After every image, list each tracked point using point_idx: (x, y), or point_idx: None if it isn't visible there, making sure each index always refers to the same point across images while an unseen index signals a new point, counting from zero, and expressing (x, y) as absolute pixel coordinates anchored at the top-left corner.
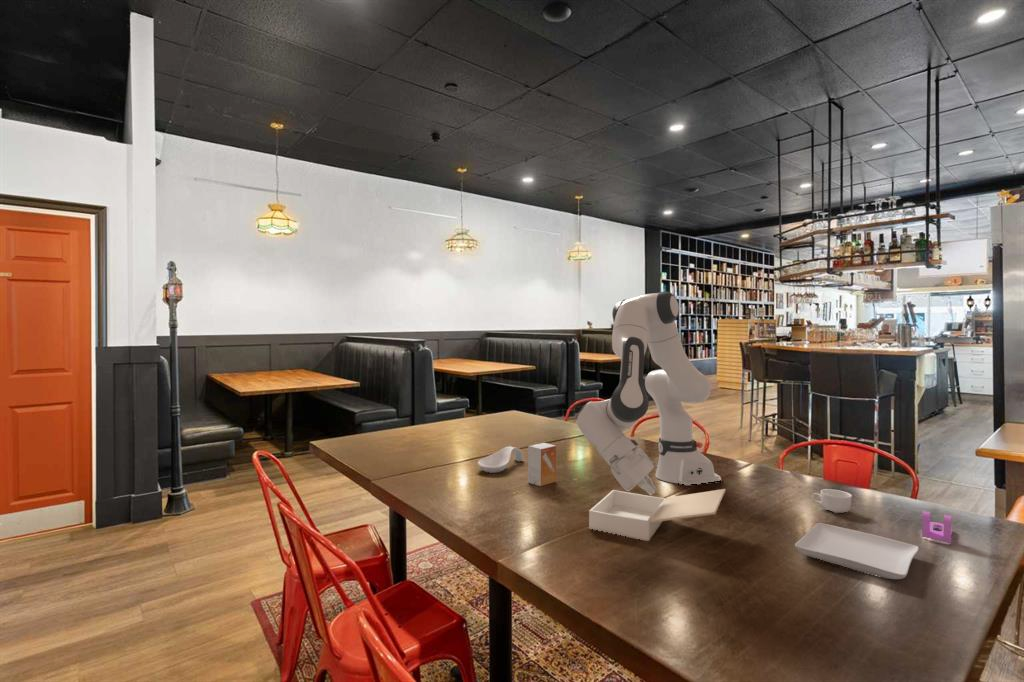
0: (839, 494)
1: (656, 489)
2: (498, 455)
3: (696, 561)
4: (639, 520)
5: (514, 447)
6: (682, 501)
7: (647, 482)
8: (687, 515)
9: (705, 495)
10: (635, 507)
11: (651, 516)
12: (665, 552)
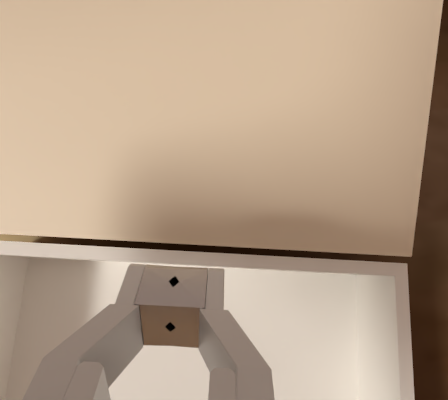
0: None
1: (146, 265)
2: None
3: (434, 83)
4: (408, 317)
5: None
6: (112, 111)
7: (104, 369)
8: (435, 35)
9: None
10: None
11: (318, 266)
12: (423, 187)
